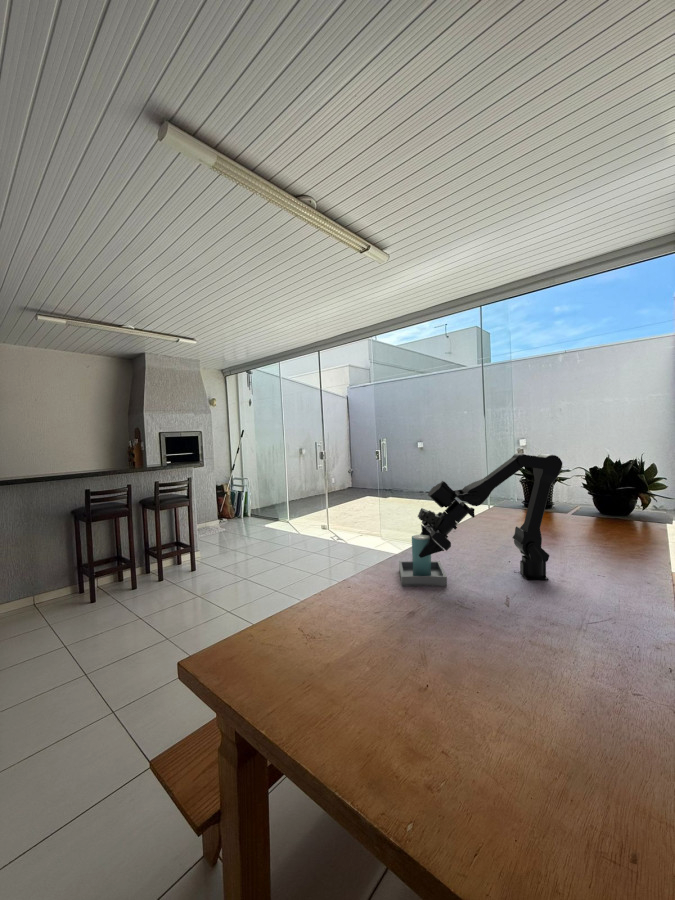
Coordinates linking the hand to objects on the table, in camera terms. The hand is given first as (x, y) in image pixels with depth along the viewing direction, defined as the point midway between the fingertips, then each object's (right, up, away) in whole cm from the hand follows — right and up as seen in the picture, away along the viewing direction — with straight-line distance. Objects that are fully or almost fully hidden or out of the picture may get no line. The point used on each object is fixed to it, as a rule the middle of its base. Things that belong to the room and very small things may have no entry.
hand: (417, 551), depth 125 cm
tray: (+2, -8, 0) cm, 9 cm away
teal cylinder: (+2, -8, 0) cm, 8 cm away
